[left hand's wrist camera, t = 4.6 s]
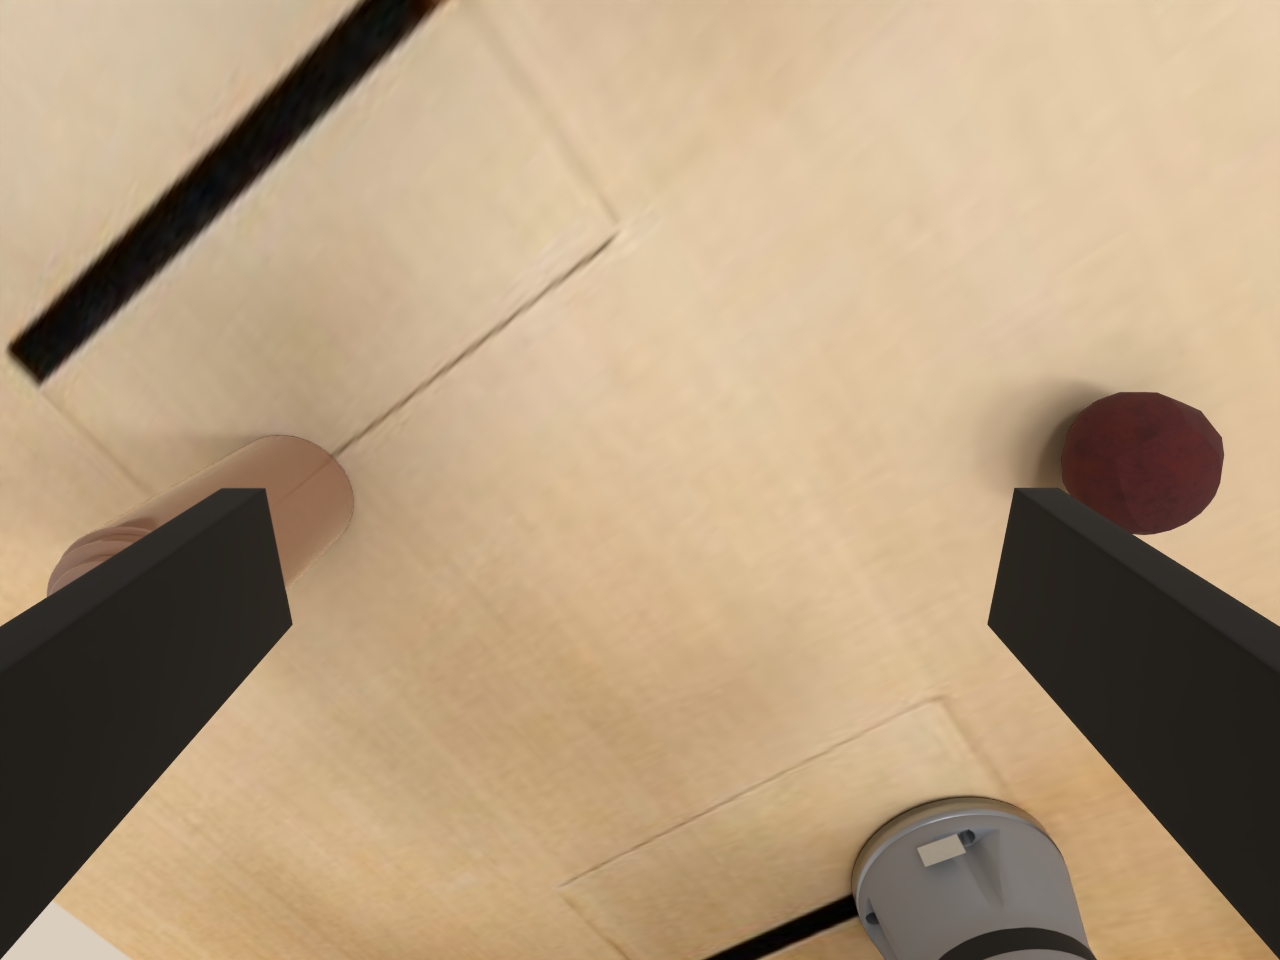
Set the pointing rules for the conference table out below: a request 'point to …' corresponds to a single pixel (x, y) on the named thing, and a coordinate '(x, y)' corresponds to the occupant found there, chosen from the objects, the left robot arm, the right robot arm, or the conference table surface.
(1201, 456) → the dark red plum
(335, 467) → the bottle
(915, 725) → the conference table surface
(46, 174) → the conference table surface
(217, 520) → the left robot arm
